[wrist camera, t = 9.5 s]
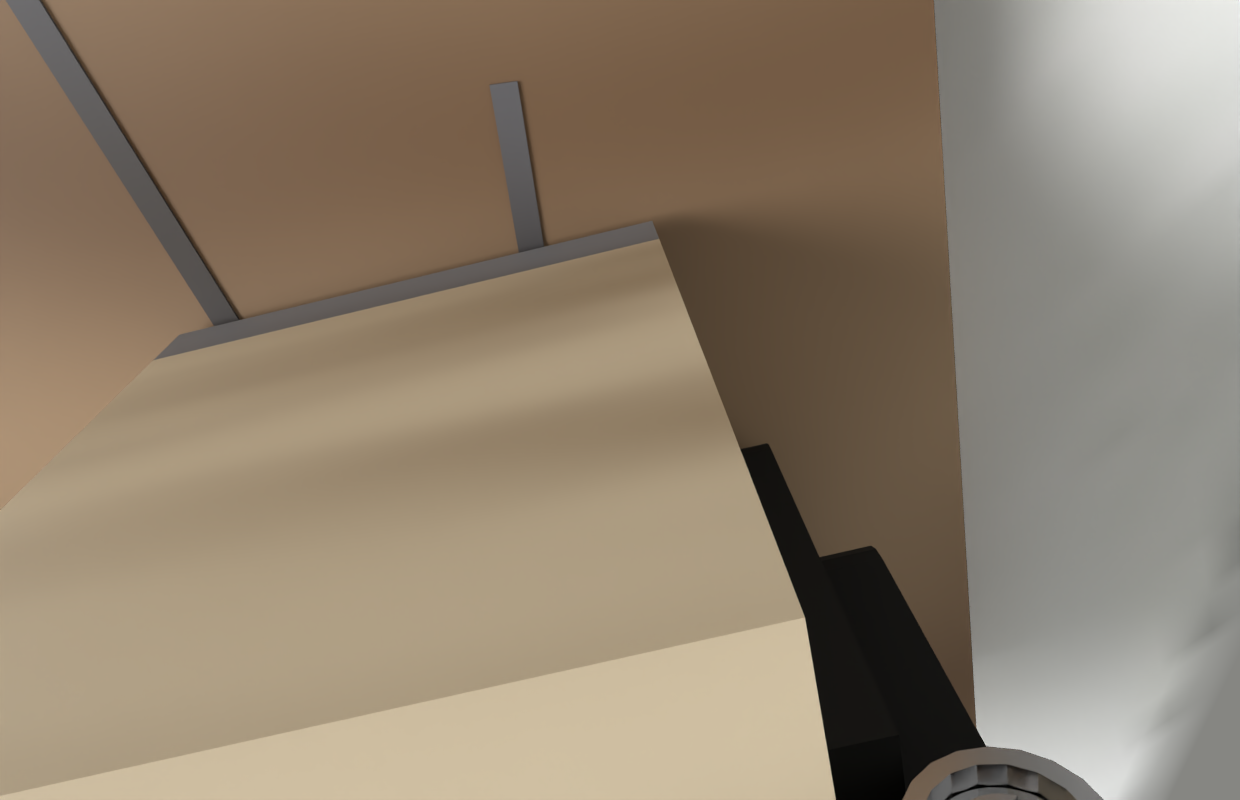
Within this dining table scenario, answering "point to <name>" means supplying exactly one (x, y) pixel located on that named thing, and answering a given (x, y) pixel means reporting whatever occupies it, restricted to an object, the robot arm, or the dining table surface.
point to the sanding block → (413, 560)
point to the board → (508, 210)
